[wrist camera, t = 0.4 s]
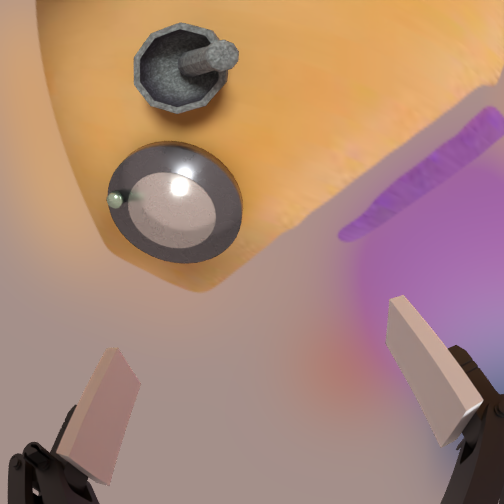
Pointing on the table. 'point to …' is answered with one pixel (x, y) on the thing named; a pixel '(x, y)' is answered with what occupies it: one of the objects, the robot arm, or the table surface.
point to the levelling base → (176, 202)
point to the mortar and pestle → (182, 67)
